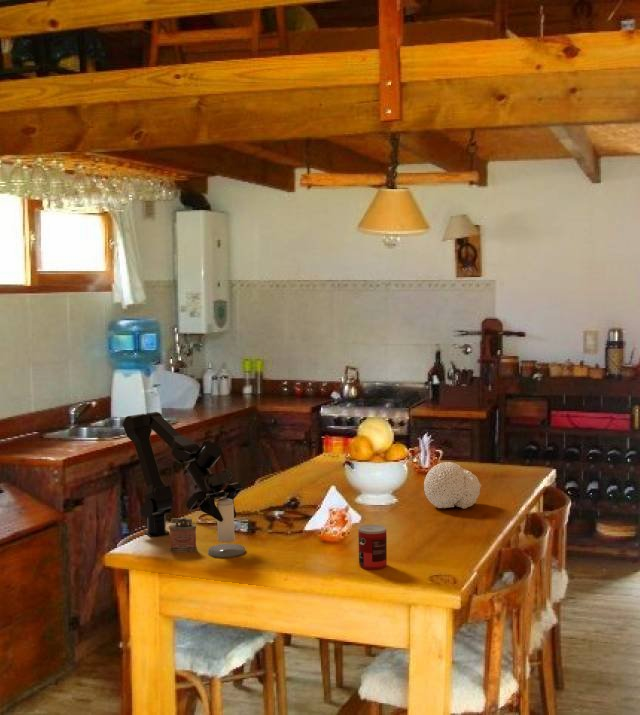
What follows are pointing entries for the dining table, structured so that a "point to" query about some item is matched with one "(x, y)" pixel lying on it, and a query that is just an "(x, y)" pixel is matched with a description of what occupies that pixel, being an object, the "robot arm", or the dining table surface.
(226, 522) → the salt shaker
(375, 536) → the canned food
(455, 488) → the beige brain coral
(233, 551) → the disc
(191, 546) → the lighter
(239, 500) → the dining table surface
